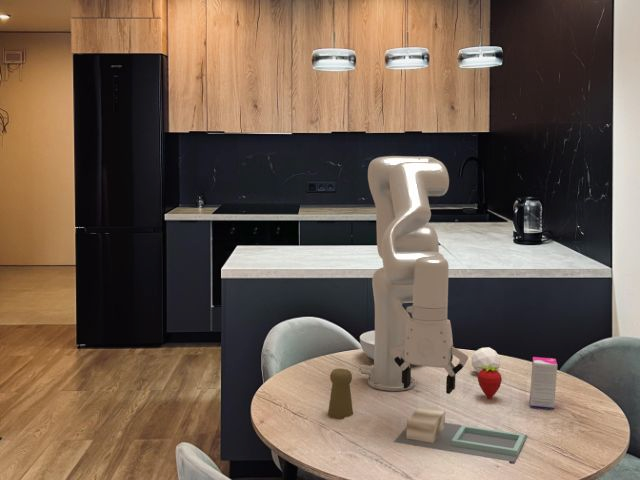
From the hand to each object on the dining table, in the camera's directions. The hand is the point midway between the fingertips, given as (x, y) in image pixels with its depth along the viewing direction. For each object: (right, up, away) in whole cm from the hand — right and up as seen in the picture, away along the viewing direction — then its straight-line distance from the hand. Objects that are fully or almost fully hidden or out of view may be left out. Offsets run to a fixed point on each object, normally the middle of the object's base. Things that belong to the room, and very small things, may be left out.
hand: (428, 389), depth 188 cm
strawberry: (+19, -7, +27) cm, 33 cm away
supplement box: (+31, -8, +23) cm, 39 cm away
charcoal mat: (+7, -11, -1) cm, 13 cm away
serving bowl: (-2, -2, +60) cm, 60 cm away
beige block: (0, -10, +2) cm, 10 cm away
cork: (-19, -9, +14) cm, 25 cm away
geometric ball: (+22, -4, +47) cm, 52 cm away
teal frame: (+13, -11, -3) cm, 17 cm away
